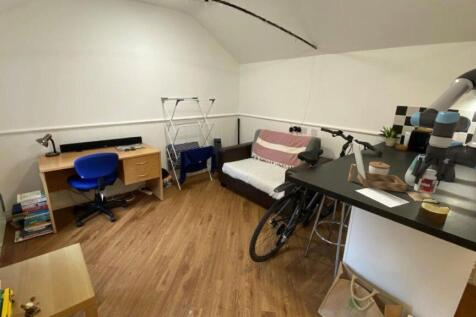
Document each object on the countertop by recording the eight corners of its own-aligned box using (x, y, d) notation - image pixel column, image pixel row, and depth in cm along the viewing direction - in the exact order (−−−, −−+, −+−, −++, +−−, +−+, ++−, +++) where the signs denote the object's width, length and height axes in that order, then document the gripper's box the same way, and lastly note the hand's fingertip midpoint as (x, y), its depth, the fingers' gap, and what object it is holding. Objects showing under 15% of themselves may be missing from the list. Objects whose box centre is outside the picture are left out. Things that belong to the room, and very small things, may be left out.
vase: (430, 192, 120) (440, 160, 115) (403, 186, 126) (412, 155, 121) (426, 185, 130) (436, 155, 124) (402, 180, 136) (410, 151, 130)
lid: (353, 140, 130) (352, 140, 130) (359, 145, 117) (358, 145, 118) (359, 170, 134) (357, 171, 134) (365, 178, 122) (364, 179, 122)
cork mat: (427, 194, 117) (427, 193, 117) (439, 204, 107) (439, 202, 107) (405, 192, 119) (406, 191, 118) (415, 201, 109) (415, 199, 109)
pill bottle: (413, 189, 113) (419, 169, 110) (419, 187, 116) (426, 167, 113) (427, 195, 108) (435, 173, 105) (434, 192, 111) (441, 171, 107)
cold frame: (394, 182, 132) (398, 165, 129) (405, 192, 119) (410, 174, 116) (345, 176, 137) (348, 160, 134) (351, 185, 124) (355, 168, 121)
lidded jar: (390, 180, 134) (394, 165, 131) (370, 178, 136) (373, 163, 133) (382, 174, 144) (386, 160, 141) (364, 172, 146) (367, 158, 143)
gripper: (457, 145, 107) (441, 190, 114) (411, 141, 110) (398, 185, 117) (468, 149, 100) (451, 197, 106) (419, 145, 103) (405, 191, 110)
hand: (423, 190), depth 112 cm, fingers closed on pill bottle, 6 cm apart
